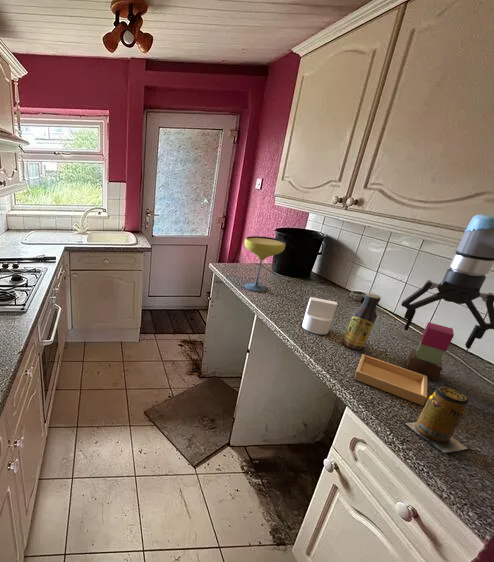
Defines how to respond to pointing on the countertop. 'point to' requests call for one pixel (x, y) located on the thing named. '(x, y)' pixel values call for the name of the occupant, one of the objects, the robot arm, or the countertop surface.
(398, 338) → the countertop surface
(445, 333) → the mulberry block
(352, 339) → the sauce bottle
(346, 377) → the countertop surface
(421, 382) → the oak tray
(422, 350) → the sage block
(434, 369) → the walnut block
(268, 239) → the cocktail glass
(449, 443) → the condiment
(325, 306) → the base with upright slab
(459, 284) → the robot arm
